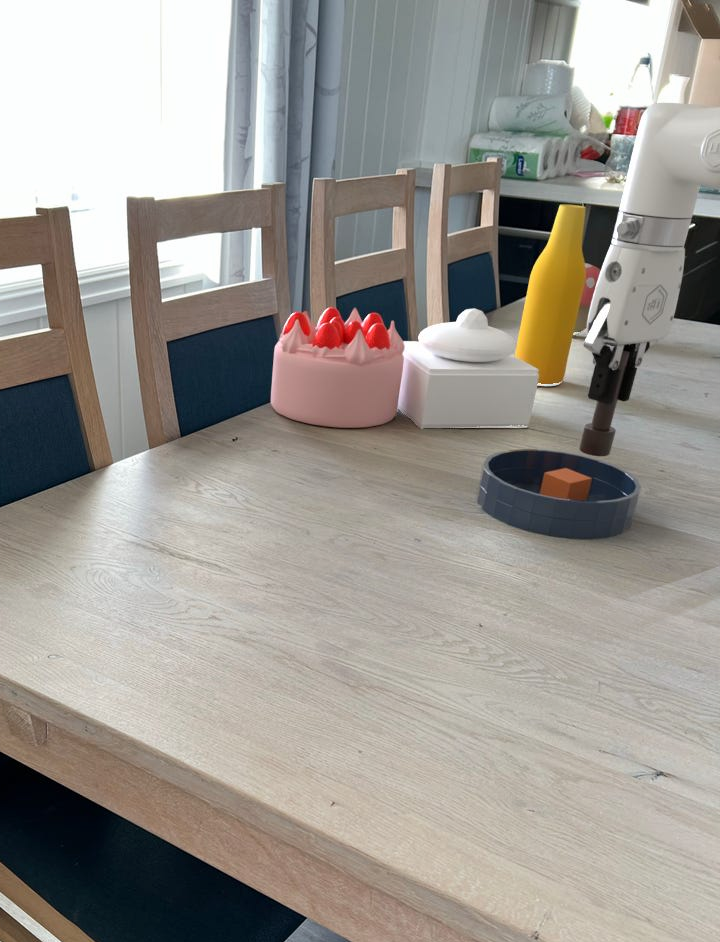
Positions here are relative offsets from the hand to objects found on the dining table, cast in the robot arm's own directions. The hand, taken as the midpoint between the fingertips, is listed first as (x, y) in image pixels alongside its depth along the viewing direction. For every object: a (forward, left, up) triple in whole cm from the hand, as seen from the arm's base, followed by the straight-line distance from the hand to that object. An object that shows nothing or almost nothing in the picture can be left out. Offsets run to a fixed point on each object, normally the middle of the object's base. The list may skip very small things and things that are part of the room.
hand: (608, 398), depth 115 cm
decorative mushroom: (+69, -81, -14) cm, 107 cm away
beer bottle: (+45, -43, -14) cm, 64 cm away
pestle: (0, 0, -7) cm, 7 cm away
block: (0, +4, -13) cm, 14 cm away
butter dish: (+37, -14, -14) cm, 42 cm away
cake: (+45, +4, -14) cm, 47 cm away
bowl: (0, +6, -13) cm, 15 cm away
